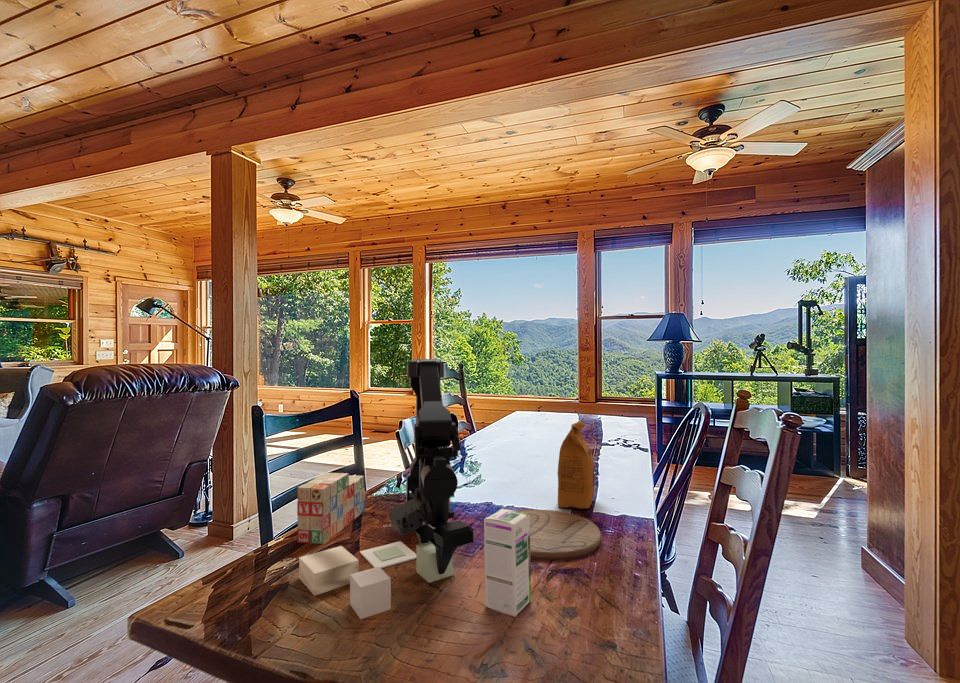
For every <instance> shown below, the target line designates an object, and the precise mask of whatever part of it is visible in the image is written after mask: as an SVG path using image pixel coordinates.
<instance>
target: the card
mask: <svg viewBox="0 0 960 683" xmlns="http://www.w3.org/2000/svg"><path fill="white" fill-rule="evenodd" d="M359 553H360V555H361V556H363V558H364V559H365V560H366V561H367V562H368V563H369V564H370V566H372V568H375V567H380V568H381V569H384V568H388V567H391V566H395V565H399V564H402V563H406V562H409V561H413V560H416V553H415V551H413V550H411V549H410V548H409V547H408V546H407V545H406V544H404V542H402V541H401V540H400V541H396V542H391V543H388V544H384V545H380V546H375V547H371V548H368V549H364V550H360V551H359Z"/></svg>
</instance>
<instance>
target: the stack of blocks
mask: <svg viewBox="0 0 960 683" xmlns="http://www.w3.org/2000/svg"><path fill="white" fill-rule="evenodd" d="M365 490H366V488H365V476H364V475H349V473H348V472H347V473H346V472H345V473H344V472H324V473H323V474H320V475H319V476H316V477H315V478H313V479H311V480H309V481H307V482H306V483H304V484H301V485H300V486H299V485H298V487H297V503H296V504H297V507H296V508H297V509H296V510H297V511H296V512H297V529H296V530H297V537H296V538H297V541H296V542H297V543H301V544H315V545H324V544H326V543H327V542H328V541H330V539H332V538H333V537H335V536H336V535H337V534H338V533H340V532H341V531H342V530H343V529H344V528H346V526H348V525H349V524H351V522H352V521H354V520H356V518H358V517H359V516H360V515H362V514H363V513H364V512H365V511H366V510H365V509H366V506H365V503H366V501H365V500H366V499H365V498H366V497H365V496H366V494H365V492H366V491H365Z"/></svg>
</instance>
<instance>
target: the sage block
mask: <svg viewBox="0 0 960 683" xmlns="http://www.w3.org/2000/svg"><path fill="white" fill-rule="evenodd" d="M415 546H416V548H415V550H416V551H415V552H416V553H415V554H416V559H415V560H416V561H415V562H416V570H415V571H416V573H417V574H418V575H419V576H421V577H422V579H424V581H426V582H427V583H428V584H430V583H433V582H435V581H440V580H441V579H442V580H443V579H446V578H448V577H449V578H450V577H452V576H453V575H454V568H453V567H454V561H453V560H454V555H453V556H452V558H451V560H450V562H449V564H448V567H447V569H446V571H445V573H443V574H439V573H438V568H437V559H436V550H435V546H434V545H432V544H431V543H430V542H426V543H423V544H420V543H419V544H416V545H415Z"/></svg>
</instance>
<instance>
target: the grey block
mask: <svg viewBox="0 0 960 683" xmlns="http://www.w3.org/2000/svg"><path fill="white" fill-rule="evenodd" d="M391 579H392V578H391V577H390V576H389V575H388V574H387V572H386V571H385V570H383V568H380V567H375V568H374V567H372V568H368V569H365V570H362V571H359V572H357V573H354V574H350V584H349V604H350V605H349V606H351V608H352V609H353V611H354V612H355V613H356V615H357V616H358V618H359V619H360V620H362V619H365V618H366V619H367V618H369V617H372V616H374V615H378V614H382V613H384V612H387V611H389V610H390V611H391V609H392V607H391V606H392V605H391V604H392V601H391V600H392V597H391V596H392V594H391V593H392V592H391V591H392V586H391V585H392V582H391V581H392V580H391Z"/></svg>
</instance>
